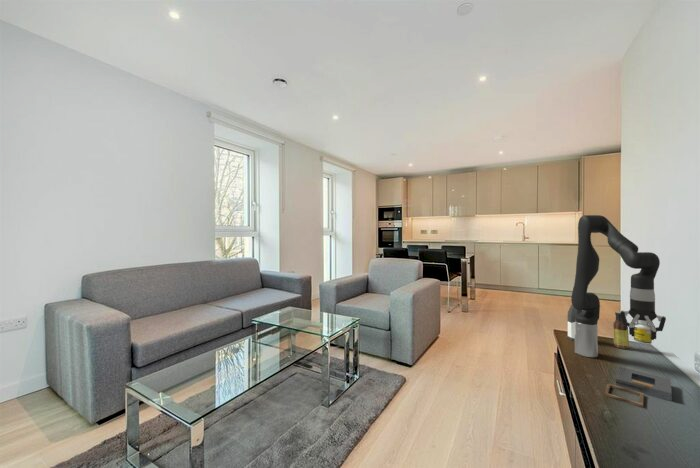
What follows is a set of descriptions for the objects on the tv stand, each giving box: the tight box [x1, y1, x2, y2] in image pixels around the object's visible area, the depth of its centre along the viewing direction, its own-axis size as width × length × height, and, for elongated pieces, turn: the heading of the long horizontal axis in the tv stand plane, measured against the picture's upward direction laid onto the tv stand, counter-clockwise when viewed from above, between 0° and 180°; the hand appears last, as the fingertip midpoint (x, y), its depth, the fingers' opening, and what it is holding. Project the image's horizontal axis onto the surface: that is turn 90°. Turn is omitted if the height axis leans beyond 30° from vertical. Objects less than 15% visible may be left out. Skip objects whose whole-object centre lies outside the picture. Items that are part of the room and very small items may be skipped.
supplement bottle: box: [633, 320, 653, 345], centre depth 123 cm, size 5×5×10 cm
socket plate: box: [615, 366, 673, 402], centre depth 123 cm, size 16×16×3 cm
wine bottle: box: [567, 304, 583, 342], centre depth 175 cm, size 8×8×30 cm
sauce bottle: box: [612, 311, 630, 350], centre depth 163 cm, size 7×6×20 cm
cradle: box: [603, 383, 645, 408], centre depth 116 cm, size 11×11×1 cm
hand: (642, 337), depth 123 cm, fingers closed on supplement bottle, 5 cm apart
